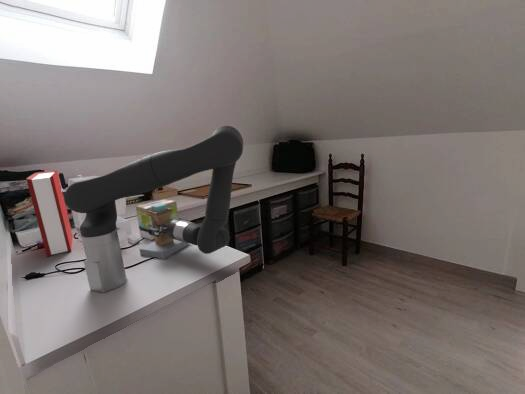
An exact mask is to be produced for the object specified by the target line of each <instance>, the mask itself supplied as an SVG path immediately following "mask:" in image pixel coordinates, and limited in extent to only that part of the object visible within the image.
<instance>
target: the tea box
mask: <svg viewBox="0 0 525 394" xmlns="http://www.w3.org/2000/svg"><path fill="white" fill-rule="evenodd" d="M157 204H166V206H167V208H170V209H172V214H170V218H171V219H178V218H179V213H178V205H177V201H176V200H170V199H161V200H157V201H152V202H148V203H143V204H139V205H136V206H135V210H136V217H137V223H138V224H137V225H138V230H139V236H140V237H142V238H144V239H148V240H149V241H154V240H155V238H154V236H152V235H149V231H148V227H147V226H148V225H149V224H151V225H152V220H151V216H148V212H147V211H149V210H152V208H151V206H153V205H157Z"/></svg>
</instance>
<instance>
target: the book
mask: <svg viewBox="0 0 525 394" xmlns="http://www.w3.org/2000/svg"><path fill="white" fill-rule="evenodd" d="M25 180H26V182H27V183H26V184H27V188H28V191H29V194H30V198H31V202H32V206H33V209H34V213H35V217H36V220H37V224H38V228H39V232H40V236H41V240H42V243H43V246H44V251H45V254H46V258H49V257H51V256H52V255H56V254H57V255H58V254H61V253H65V252H70V253H72V249H73V248H72V247H73V232H72V227H71V223H70V220H69V219H70V218H69V214H68V210H67V206H66V204H65V202H64V193H63V191H62V192H61V189H62V186H61V182H60V177H59V173H58V170H47V171H41V172H40V171H38V172H34V173H32V174H31V175H29V176H28V177H27V178H25Z"/></svg>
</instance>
